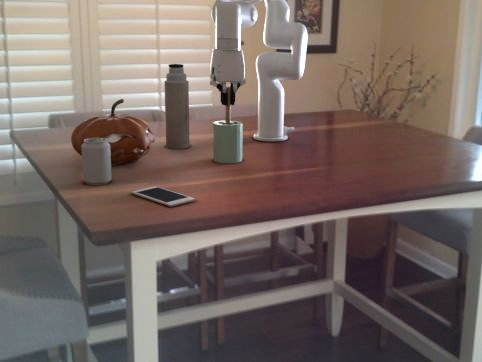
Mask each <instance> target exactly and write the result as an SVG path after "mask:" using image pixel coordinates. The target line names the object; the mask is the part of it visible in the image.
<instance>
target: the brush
mask: <svg viewBox="0 0 482 362" xmlns="http://www.w3.org/2000/svg"><path fill="white" fill-rule="evenodd" d="M226 93H228V105H227V106H225V105H224V107H225V111H224V113H225V115H224V116H225V117H224V120H225V121H224V122H222V124H224V125H233V124H234V122H232V121H233V120H232V121H230V120H231V115H232V113H231V110H232V109H231V106H232V105H231V87H230V86H226Z"/></svg>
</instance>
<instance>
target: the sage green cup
mask: <svg viewBox="0 0 482 362" xmlns="http://www.w3.org/2000/svg"><path fill="white" fill-rule="evenodd" d="M224 121H225V119H224V120H216V121H214V122H212V123H213V126H212V127H213V128H212V129H213V131H212V132H213V134H212V135H213V138H212V139H213V143H212V144H213V161H214V162H216V163H219V164H238V163H241V162H242V161H243V135H244V134H243V122H242V121H238V120H230V121H232V122H234V124H233V125H224V124H222V122H224Z"/></svg>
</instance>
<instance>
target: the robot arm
mask: <svg viewBox="0 0 482 362" xmlns="http://www.w3.org/2000/svg"><path fill="white" fill-rule="evenodd" d="M262 1H264V5H265V17H264V26H263V44H264V45H265V47H267V48H269V49H277V50H291V52H283V51H264V52H260V53H259V55H258V56H257V58H256V60H255V70H256V75H257V99H258V100H257V132H256V133H254V134H253V136H252V137H253V139H254V140H256V141H260V142H284V141H286V140H288V133H295V131H296V128H295V127H294V126H290V127H288V126H286V125H284V123H285V122H284V121H285V120H284V119H285V89H284V87H283V84H282V83H281V81H280V80H288V81H297V80H300V79H302V78H303V75H304V72H305V67H306V60H307V59H306V57H307V48H308V37H309V36H308V35H309V34H308V29H307V26H306V25H305V24H304V23H302V22H298V21H297V22H295V21H290V14H291V10H290V6H289V4H288V2H287V0H215V2H214V3H213V5H212V7H211V12H210V17H211V21H212V22H213V23H214V25H215V48H212V52H211V57H210V67H209V68H210V69H209V80H210V81H209V85H210V86H212V87H215V88H216V89H217V90H218V91H219V92H220V103H221V105H222V106H224V107H225V106H227V105H228V93H226V87H227V83H229V87H231V106H235V105H236V104H235V103H236V93H237V92H238V90H239V88H241V87H242V86H244V85H246V83H247V81H246V78H245V77H246V70H245V69H246V66H245V57H244V51H243V49H242V46H245V41H244V40H242V35H241V33H242V28H250V27H252V26H254V25H255V24H256V22H257V21H258V16H259V13H258V10H257V7H256V6H255V5H256V4H259V3H261V2H262Z"/></svg>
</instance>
